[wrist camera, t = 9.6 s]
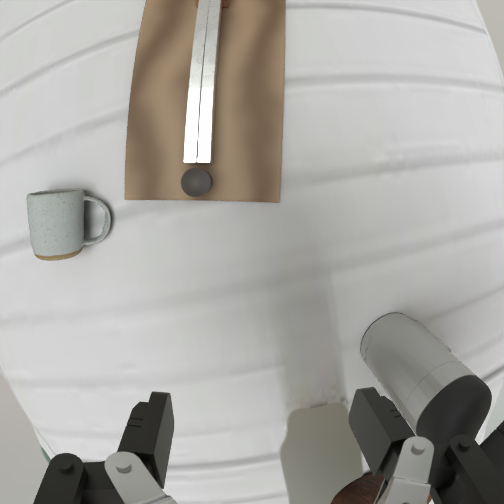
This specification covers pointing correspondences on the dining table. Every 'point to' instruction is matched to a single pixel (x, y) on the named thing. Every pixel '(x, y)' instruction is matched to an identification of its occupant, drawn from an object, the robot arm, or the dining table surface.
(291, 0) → the dining table surface
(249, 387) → the dining table surface
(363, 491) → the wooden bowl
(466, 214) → the dining table surface
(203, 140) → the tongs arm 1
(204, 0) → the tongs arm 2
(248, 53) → the walnut board
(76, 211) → the ceramic mug
